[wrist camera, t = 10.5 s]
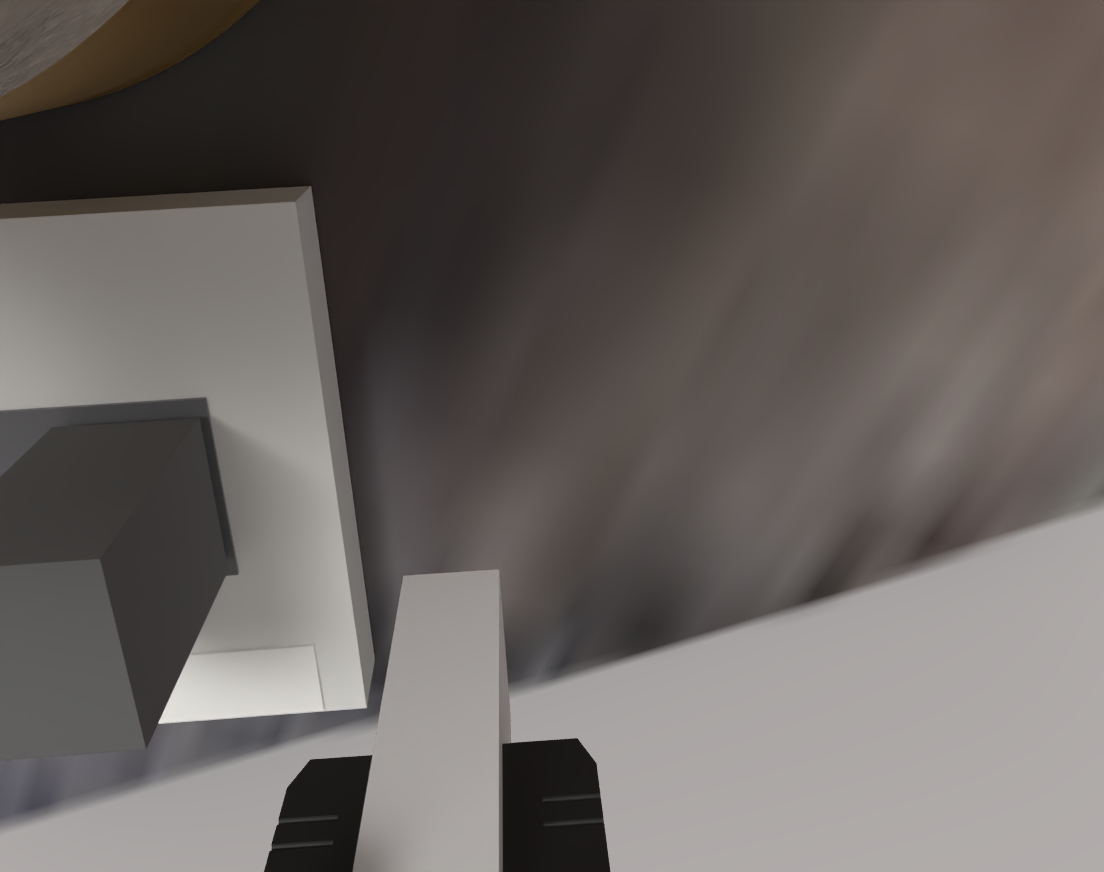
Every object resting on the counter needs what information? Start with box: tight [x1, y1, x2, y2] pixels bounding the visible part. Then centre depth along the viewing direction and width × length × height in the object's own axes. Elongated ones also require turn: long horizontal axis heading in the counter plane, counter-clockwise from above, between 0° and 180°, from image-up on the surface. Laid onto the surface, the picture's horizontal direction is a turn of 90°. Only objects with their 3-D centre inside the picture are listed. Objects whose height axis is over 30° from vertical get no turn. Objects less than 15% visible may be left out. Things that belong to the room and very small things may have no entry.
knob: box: [0, 418, 228, 761], centre depth 19 cm, size 3×4×6 cm
